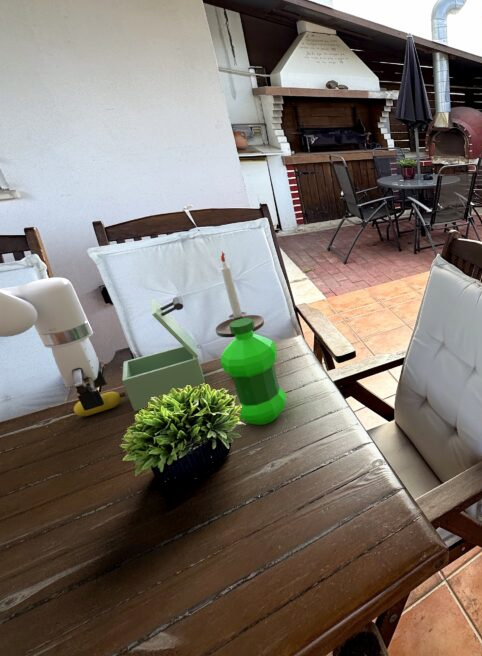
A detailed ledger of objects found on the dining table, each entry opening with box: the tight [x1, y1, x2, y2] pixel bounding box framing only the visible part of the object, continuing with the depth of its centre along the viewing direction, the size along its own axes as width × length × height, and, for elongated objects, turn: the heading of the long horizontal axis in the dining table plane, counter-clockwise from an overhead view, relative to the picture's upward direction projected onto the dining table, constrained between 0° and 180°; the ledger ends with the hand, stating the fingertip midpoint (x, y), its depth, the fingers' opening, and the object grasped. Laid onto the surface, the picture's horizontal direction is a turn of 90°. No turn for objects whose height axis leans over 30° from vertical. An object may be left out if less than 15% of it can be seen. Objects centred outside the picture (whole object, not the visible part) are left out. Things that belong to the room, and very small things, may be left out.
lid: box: [150, 296, 199, 358], centre depth 102 cm, size 15×11×5 cm
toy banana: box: [71, 391, 127, 417], centre depth 95 cm, size 9×4×4 cm
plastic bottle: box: [220, 318, 287, 426], centre depth 89 cm, size 10×10×25 cm
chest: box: [121, 345, 206, 412], centre depth 102 cm, size 14×11×9 cm
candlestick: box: [215, 251, 265, 338], centre depth 106 cm, size 11×11×35 cm
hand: (96, 396), depth 94 cm, fingers open, 9 cm apart
